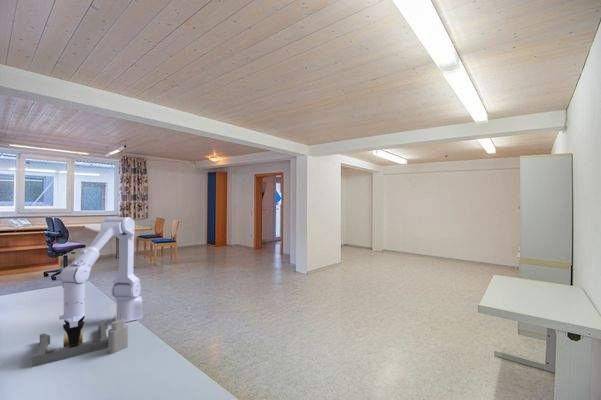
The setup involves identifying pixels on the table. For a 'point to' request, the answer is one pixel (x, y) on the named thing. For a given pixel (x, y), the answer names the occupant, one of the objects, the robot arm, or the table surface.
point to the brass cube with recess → (66, 340)
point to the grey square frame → (69, 348)
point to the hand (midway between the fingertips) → (74, 341)
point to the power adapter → (117, 336)
